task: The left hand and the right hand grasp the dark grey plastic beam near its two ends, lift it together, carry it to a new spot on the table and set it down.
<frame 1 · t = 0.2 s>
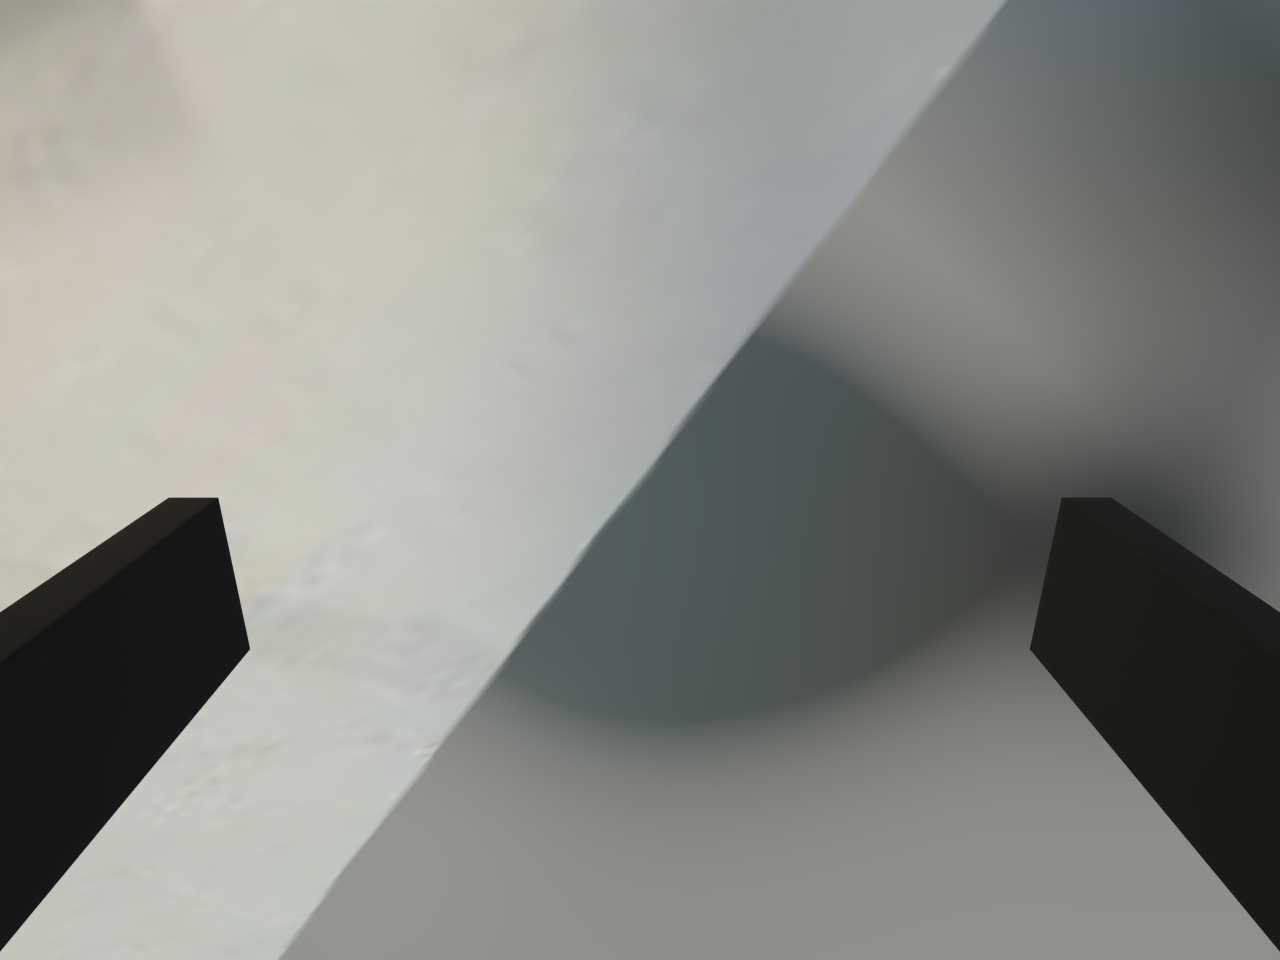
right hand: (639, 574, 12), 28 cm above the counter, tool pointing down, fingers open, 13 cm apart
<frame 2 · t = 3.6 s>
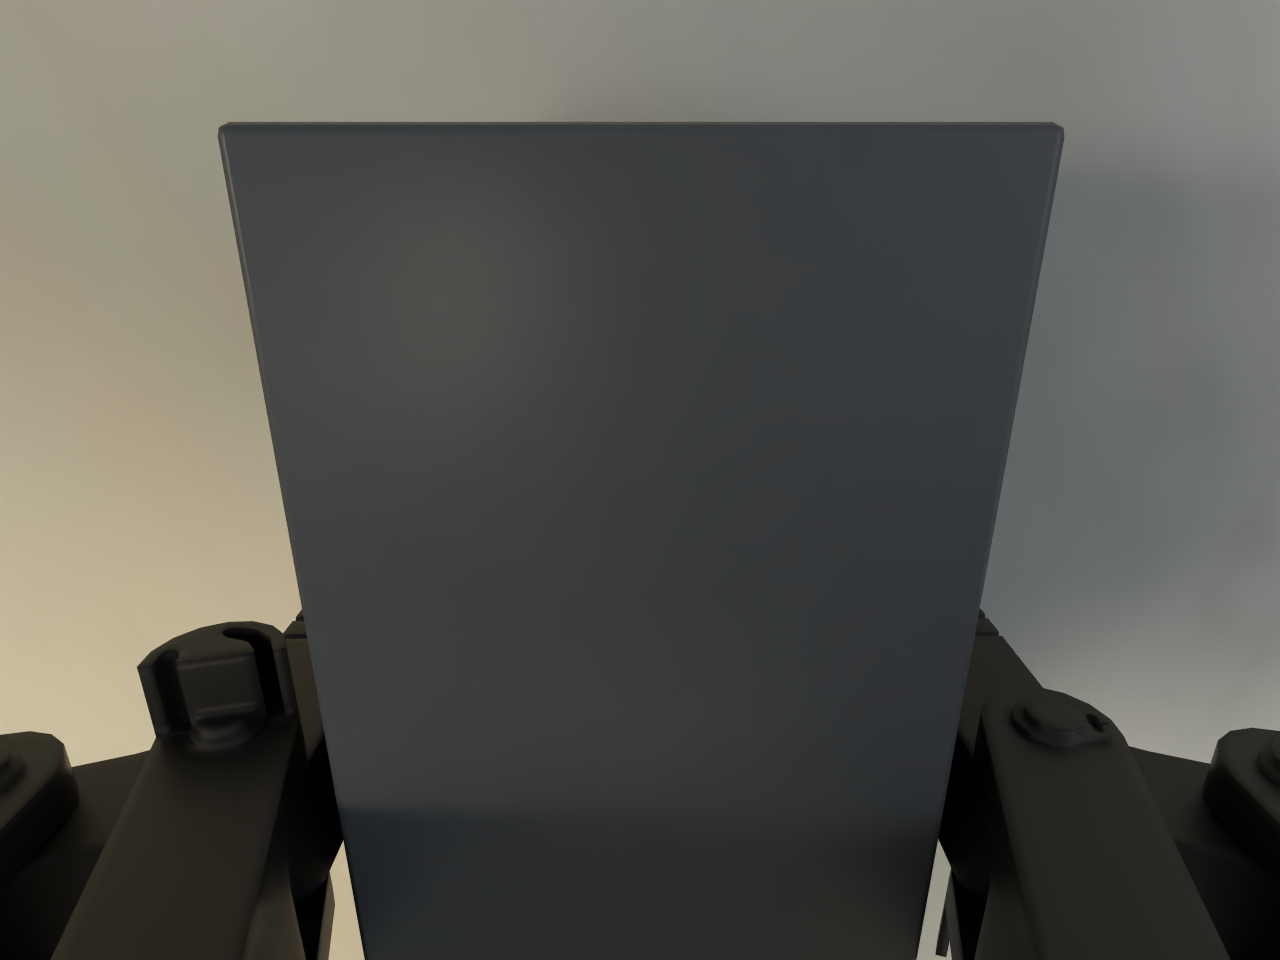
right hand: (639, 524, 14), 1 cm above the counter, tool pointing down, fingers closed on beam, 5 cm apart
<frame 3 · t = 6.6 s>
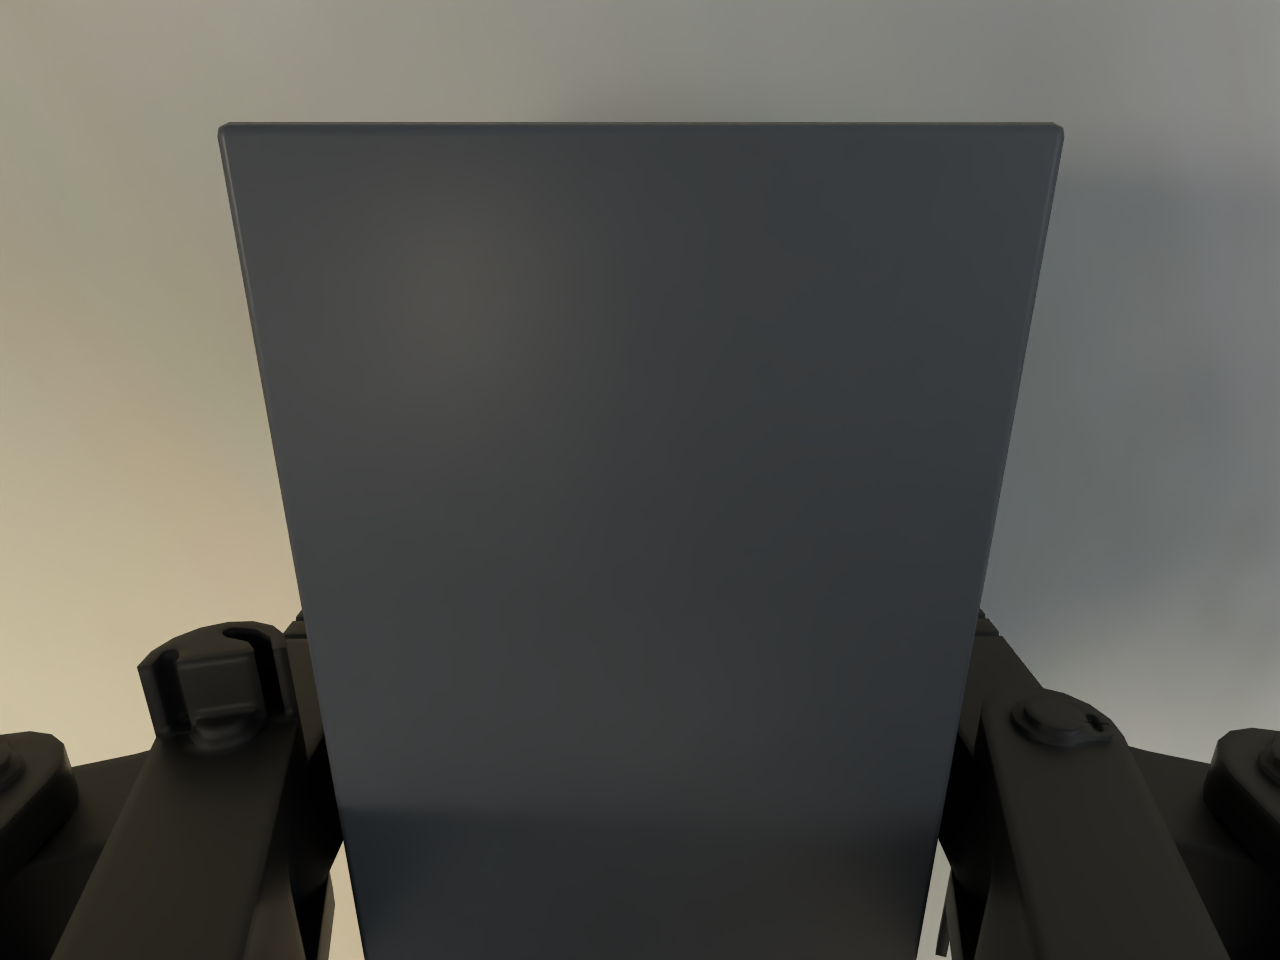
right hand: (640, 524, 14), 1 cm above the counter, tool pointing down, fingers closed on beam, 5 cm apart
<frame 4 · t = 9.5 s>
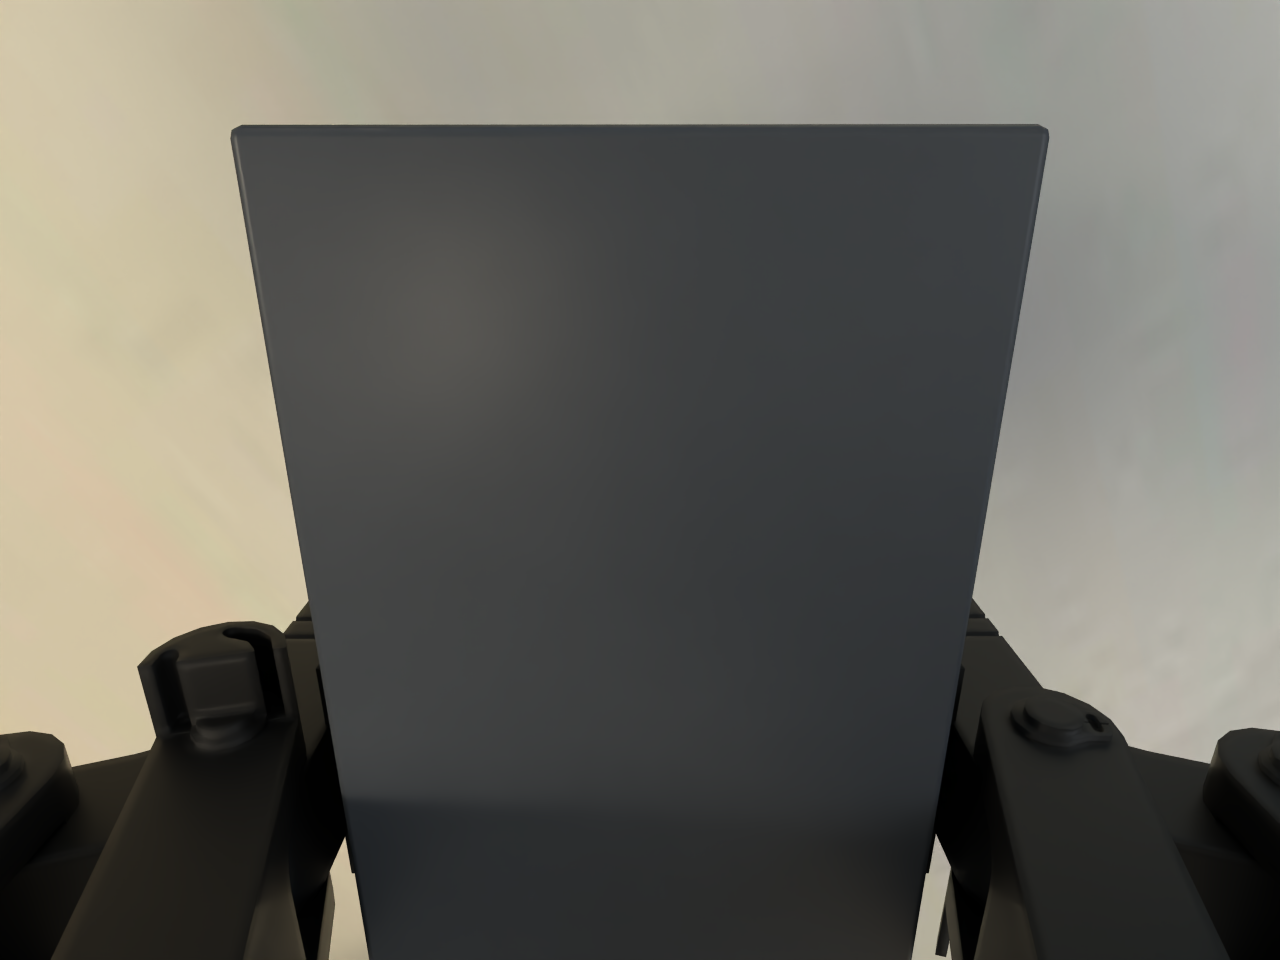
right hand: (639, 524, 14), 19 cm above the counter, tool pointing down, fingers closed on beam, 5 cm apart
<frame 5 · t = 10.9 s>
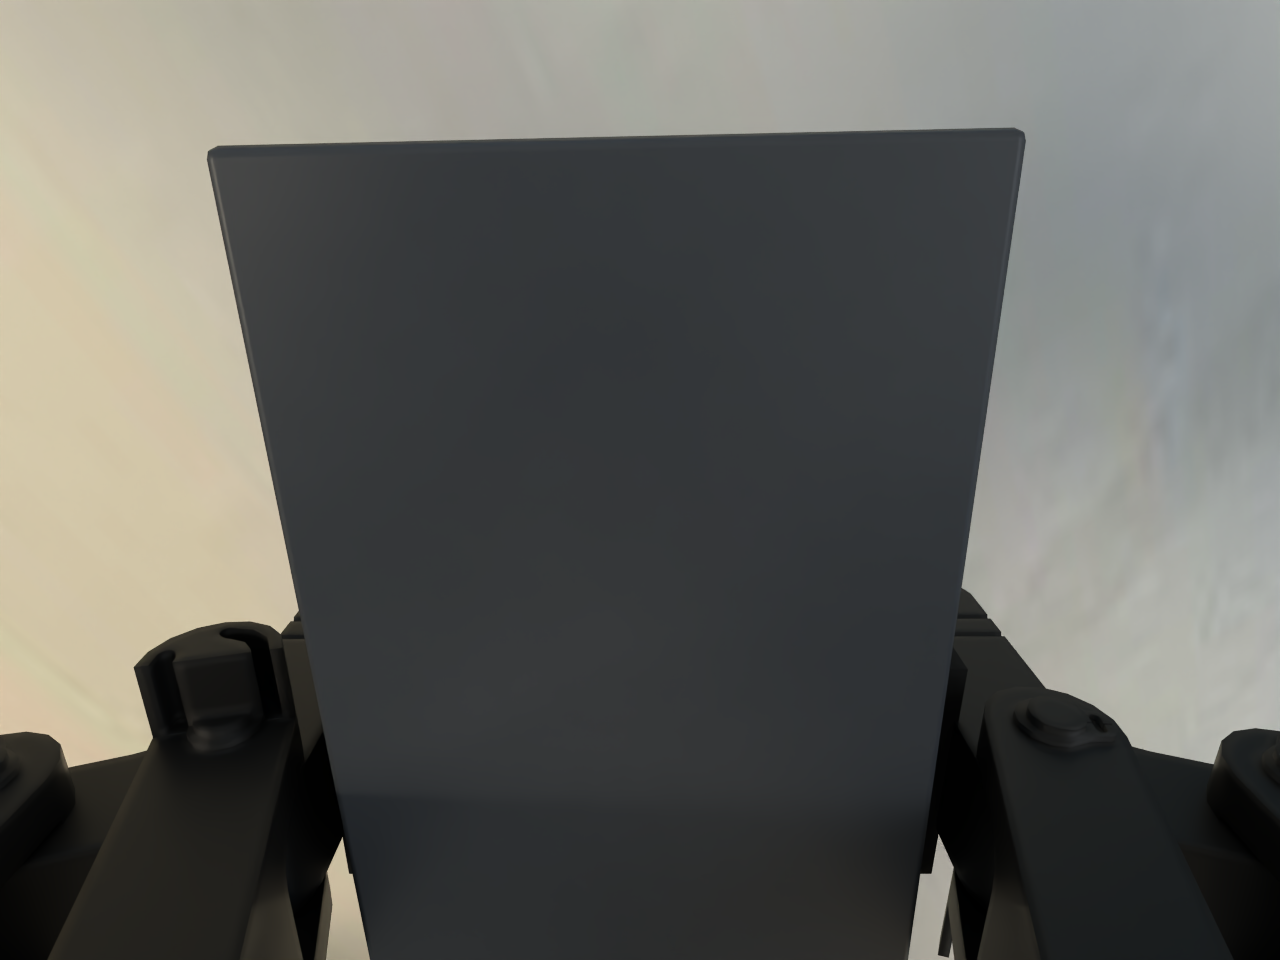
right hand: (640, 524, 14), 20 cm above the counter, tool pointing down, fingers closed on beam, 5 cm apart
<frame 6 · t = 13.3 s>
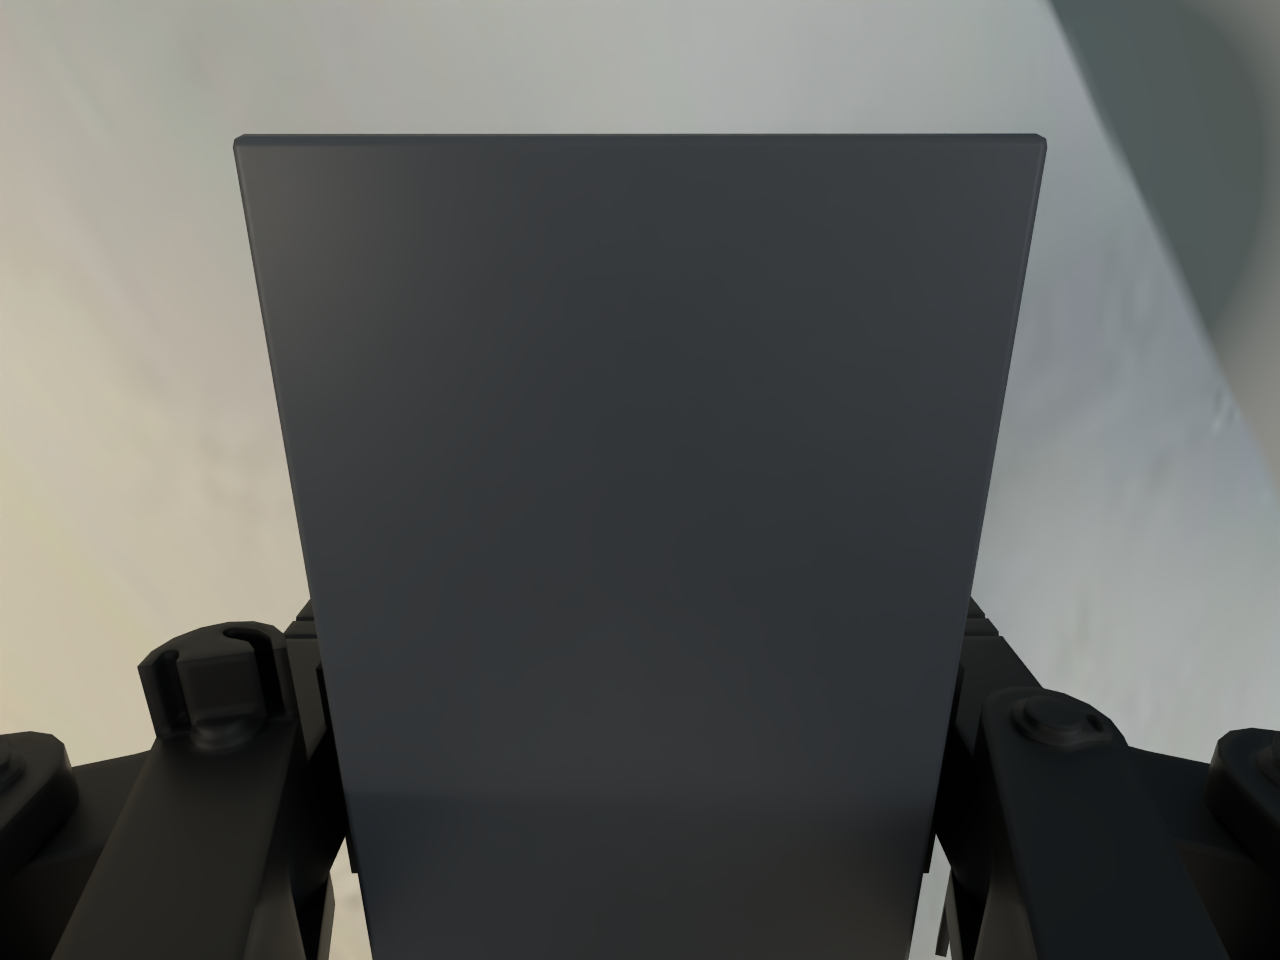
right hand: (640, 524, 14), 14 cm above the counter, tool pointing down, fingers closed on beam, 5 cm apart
when the left hand's fingers open (1 cm above the counter, at t = 15.4 s): beam stays where it is, on the counter.
when the right hand's fingers open (1 cm above the counter, at t = 15.4 s): beam stays where it is, on the counter.
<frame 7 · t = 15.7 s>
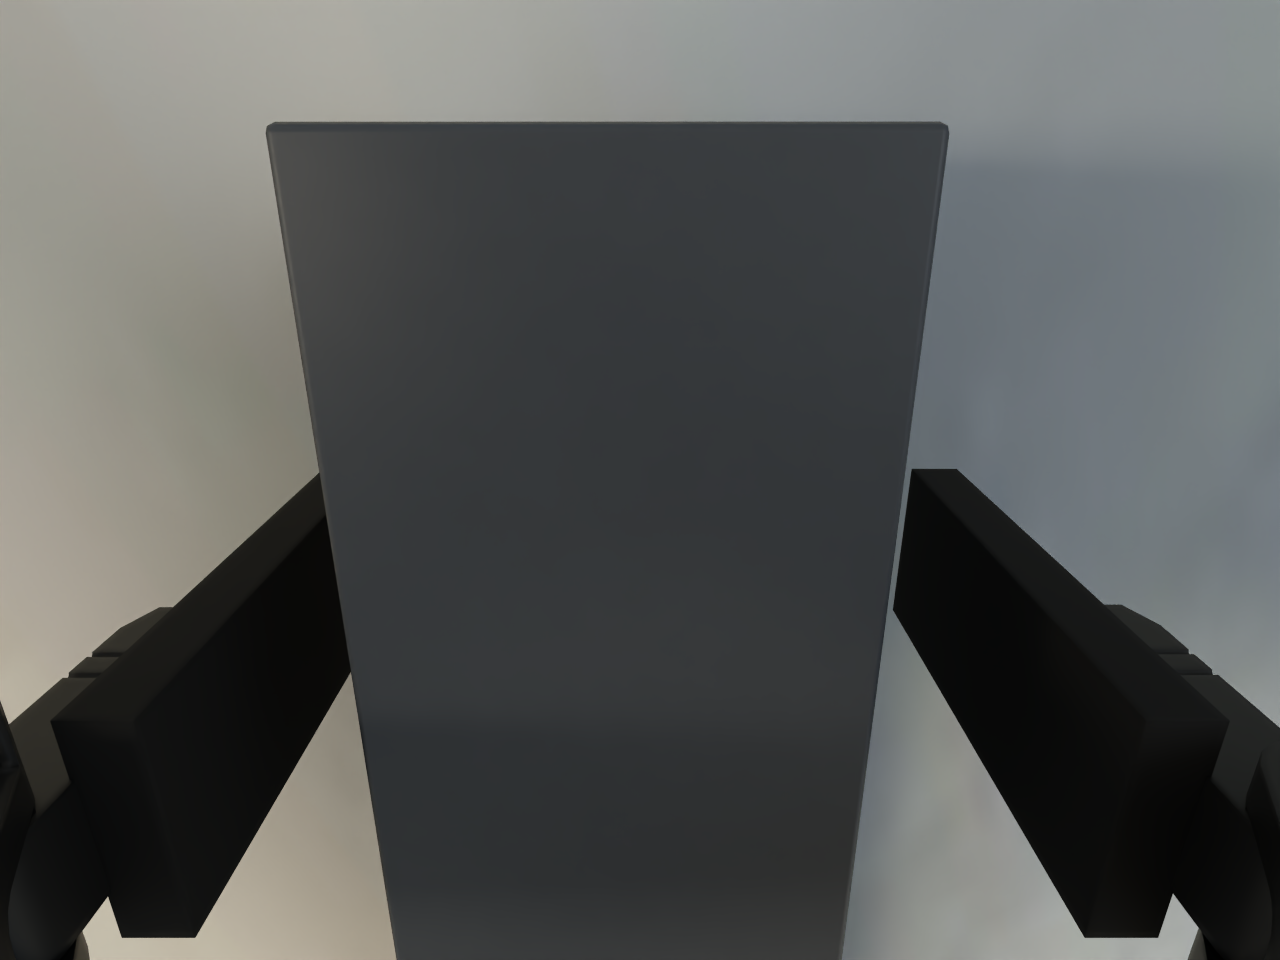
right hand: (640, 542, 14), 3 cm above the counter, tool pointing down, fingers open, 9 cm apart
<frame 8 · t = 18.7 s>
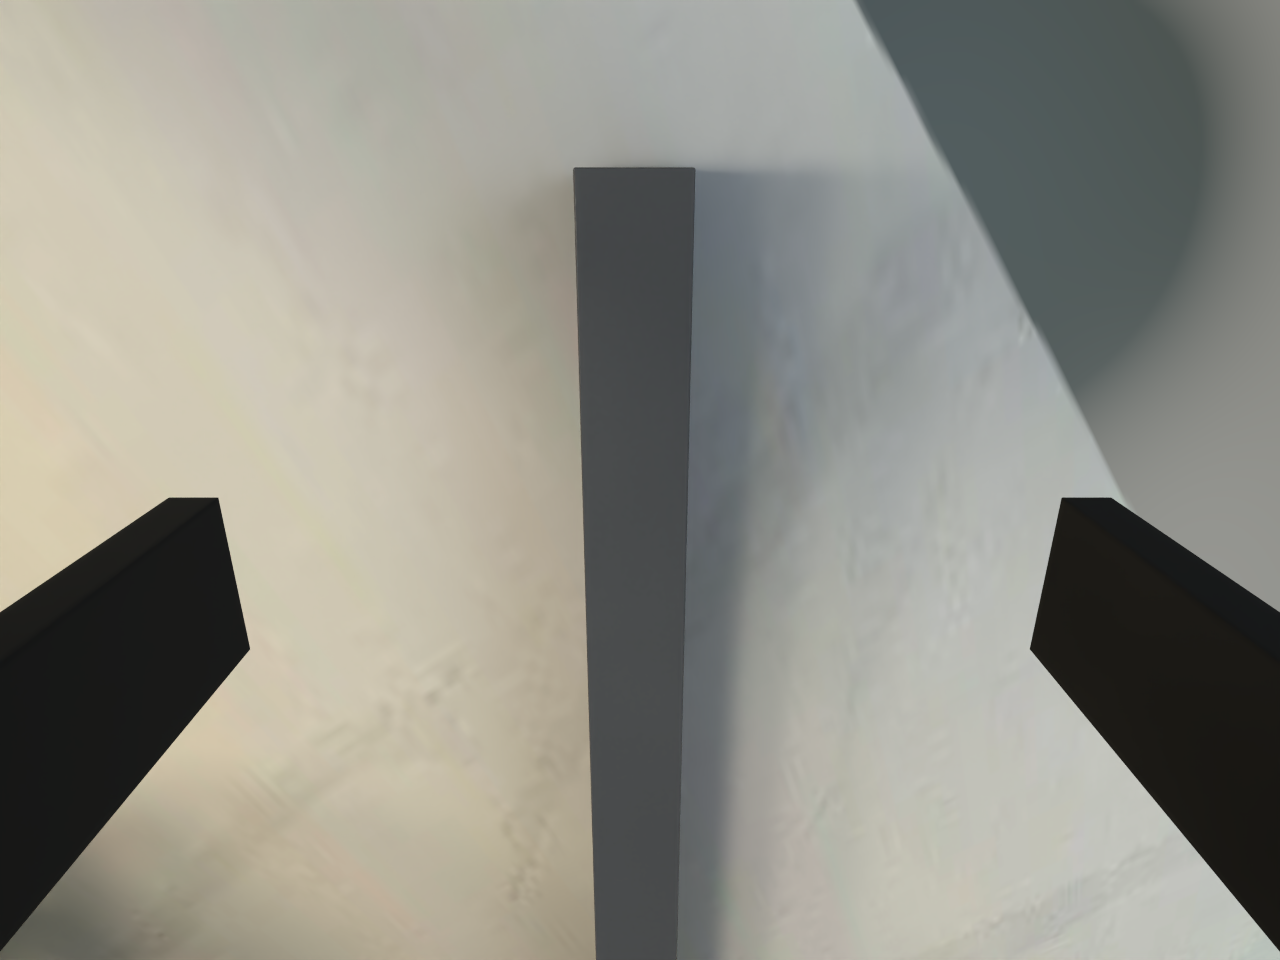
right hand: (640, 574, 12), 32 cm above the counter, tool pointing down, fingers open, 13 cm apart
beam: (636, 808, 55), on the counter
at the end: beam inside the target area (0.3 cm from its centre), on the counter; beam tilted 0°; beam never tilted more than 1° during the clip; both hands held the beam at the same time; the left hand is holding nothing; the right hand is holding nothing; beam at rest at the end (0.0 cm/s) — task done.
